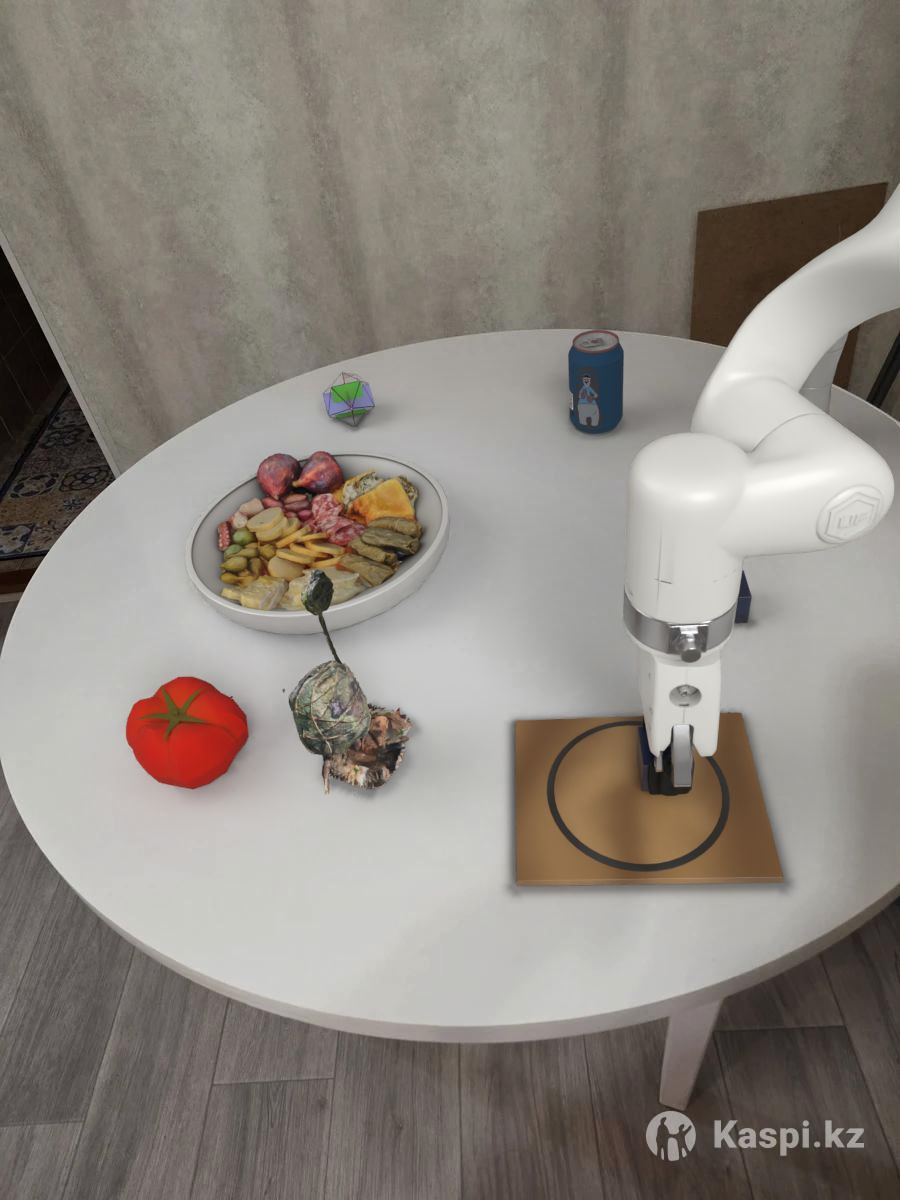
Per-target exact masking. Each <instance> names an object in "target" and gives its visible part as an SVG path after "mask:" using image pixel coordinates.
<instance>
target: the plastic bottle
mask: <svg viewBox="0 0 900 1200" xmlns="http://www.w3.org/2000/svg"><path fill="white" fill-rule="evenodd" d="M848 336H849V332H847V333H846V334H845V335H844V336H842V337H841V338H840V339H839V340H837V341H836V343H835V344H834V345H833V346H832V347H831V348H830V349H829V350H828V351H827V352H826V353H825V354H824V356H823V357H822V358H821V359H820V361H819V362H818V363H817V364H816V366H815V367H814V369H813V370H812V372H811V373H810V375H809V376H808V378H807V379H806V381H805V383H804V384H803V386H802V387H801V389H800V390H799V392H798V393H799V394H801V395H802V396H803V397H805V398H806V399H807V400H809V401H810V402H811V403H813V404H814V405H815V406H817V407H818V408H820V409H821V410H822V411H824V412H825V413H827V414H828V415H829V416H831V415H830V403H831V396H832V387H833V382H834V378H835V375H836V371H837V367H838V364H839V361H840V358H841V356H842V353H843V350H844V348H845V344H846V342H847V340H848Z"/></svg>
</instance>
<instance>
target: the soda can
mask: <svg viewBox="0 0 900 1200" xmlns="http://www.w3.org/2000/svg"><path fill="white" fill-rule="evenodd" d="M624 355H625V351H624V348H623V346H622V344H621V343H620V337H619V335H617V334H616V333H614V332H612V331H610V330H605V329H591V330H587V331H583V332H581V333H579V334H577V335H576V336H575V337H574V338H573V339H572V345H571V347H570V348H569V350H568V354H567V362H568V363H567V365H568V401H569V402H568V404H569V405H568V407H569V408H568V409H569V410H568V411H569V420H570V421H571V423H572V425H573V426H574V428H575V429H576V430H577V431H578V432H579V433H581V434H584V435H589V436H602V435H606V434H610V433H611V432H613V431H614V430H615V429H617V427H618V425H619V424H620V422H621V421H622V419H623V416H624V368H625V367H624V360H625V359H624V358H625V356H624Z"/></svg>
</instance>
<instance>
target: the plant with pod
mask: <svg viewBox="0 0 900 1200" xmlns="http://www.w3.org/2000/svg"><path fill="white" fill-rule="evenodd" d="M333 593H334V589H333V583H332V581H331V579H330V578H328V577H327V576H326V574H325V573H324V572H323V571H322V570H315V569H313V570H312V571H311V574H310V575H309V576H308V577H307V578H306V580H305V581H304V584H303V586H302V589H301V601H302V603H303V605H304V606H305V608H306V610H307V611H309V612H310V613H311V614H313V615H315V616H317V615H318V618H319V622H320V624H321V627H322V628H323V632H322V633H323V634H324V636H325V640H326V643H327V645H328V647H329V650H330V652H331V654H332V656H333V659H334V660H333V659H332V660H328V661H326V662H322V663H320V664H319V665H316V666H314V667H313V668H311V669H310V670H309V671H308V672H307V673H306V674H305V675H304V676H303V677H302V678H301V679H300V680H299V681H298V683H297V686H296V687H295V688H294V689H293V690H292V691H291V692H290V694H289V695H288V705H289V708H290V711H291V712H292V718H293V721H294V725H295V727H296V731H297V735H298V738H299V740H300V741H301V744H302V745H303V747H304V748H305V749H306V750H307V751H308V753H310V754H311V755H315V756H316V755H318V756H322V761H323V764H322V767H321V776H322V779H323V784H324V794H325V795H326V796H327V795H329V794H330V791H331V790H330V789H331V788H330V783H331V782H330V777H332V778H333V779H336V780H340V781H342V782H344V783H345V784H346V785H349V784H350V783H351V784H352V785H351V786H352V787H355V786H356V787H357V788H358V787H359V788H361V787H362V789H365V790H369V789H370V790H373V789H374V788H380V787H383V785H385V784H387V782H389V779H391V777H392V776H393V775H394V773H395V772H396V770H397V769H398V768H400V764H401V762H403V761H405V759H404V758H405V756H404V755H405V754H404V751H405V749H406V746H405V745H404V744H405V743H407V742H408V741H409V740H410V738H409V736H408V733H409V732H410V730H411V728H412V727H413V726H414V724H413V723H412V721H411V719H410V717H408V718H407V714H401V709H400V707H398V708H397V709H396V710H395V711H394V709H391V710H390V709H386V707H380V706H379V707H377V705H376V704H374V705H373V704H372V703H368V698H367V695H365V694H364V691H363V689H362V687H361V686H360V682H359V681H358V680H357V678H356V677H355V674H354V672H353V671H351V668H350V667H349V666H348V665H347V663H343V662H342V660H341V659H340V657H339V655H338V653H337V650H336V648H335V646H334V642H333V640H332V638H331V636H330V633H329V631H328V630H327V627H326V623H325V620H324V617H323V613H322V612H324V611H327V610H328V608H329V606H330V604H331V600H332V597H333ZM281 691H282V692H283V694H285V693H286V689H285V688H282V689H281Z"/></svg>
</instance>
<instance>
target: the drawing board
mask: <svg viewBox="0 0 900 1200" xmlns="http://www.w3.org/2000/svg"><path fill="white" fill-rule="evenodd" d="M642 723H643V715H637V716H635V715H634V716H610V717H609V716H608V717H607V716H606V717H604V716H603V717H580V718H579V717H578V718H550V719H548V718H547V719H522V720H515V810H516V811H515V824H516V825H515V827H516V828H515V829H516V830H515V833H516V834H515V835H516V836H515V838H516V842H515V843H516V844H515V845H516V848H515V849H516V850H515V851H516V886H518V887H536V886H537V887H539V886H547V887H550V886H551V887H553V886H614V885H615V886H619V885H623V886H625V885H626V886H627V885H689V884H691V885H694V884H695V885H696V884H700V885H701V884H752V883H753V884H760V883H762V884H766V883H767V884H768V883H769V884H770V883H771V884H772V883H774V884H775V883H783V880H784V873H783V870H782V866H781V861H780V858H779V854H778V850H777V845H776V842H775V837H774V835H773V830H772V827H771V823H770V818H769V814H768V811H767V807H766V803H765V799H764V796H763V792H762V788H761V782H760V780H759V776H758V772H757V768H756V765H755V764H756V763H755V760H754V756H753V753H752V749H751V748H752V747H751V745H750V740H749V737H748V733H747V728H746V725H745V721H744V717H743V714H742V712H722V713H721V712H720V716H719V728H718V740H717V749H716V751H715V753H714V754H713V755H712V756H705V757H701V756H700V755H699V753H698V751H697V749H696V748H695V746H694V748H693V758H694V763H695V766H694V774H693V782H692V790H690V791H689V793H687V794H679V795H676V796H664V795H651V794H650V793H649V791H646V792H642V790H641V783H640V775H639V768H638V760H637V733H638V727H642Z"/></svg>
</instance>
